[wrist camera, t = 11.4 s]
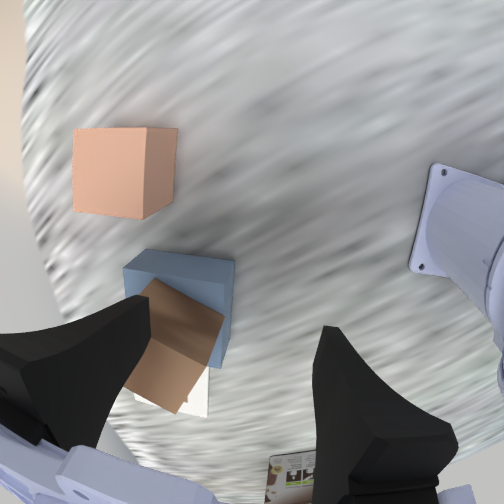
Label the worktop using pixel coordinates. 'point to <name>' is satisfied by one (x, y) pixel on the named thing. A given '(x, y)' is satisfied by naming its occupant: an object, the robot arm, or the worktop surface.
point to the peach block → (123, 170)
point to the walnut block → (174, 346)
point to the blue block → (188, 285)
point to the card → (192, 397)
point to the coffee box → (291, 478)
